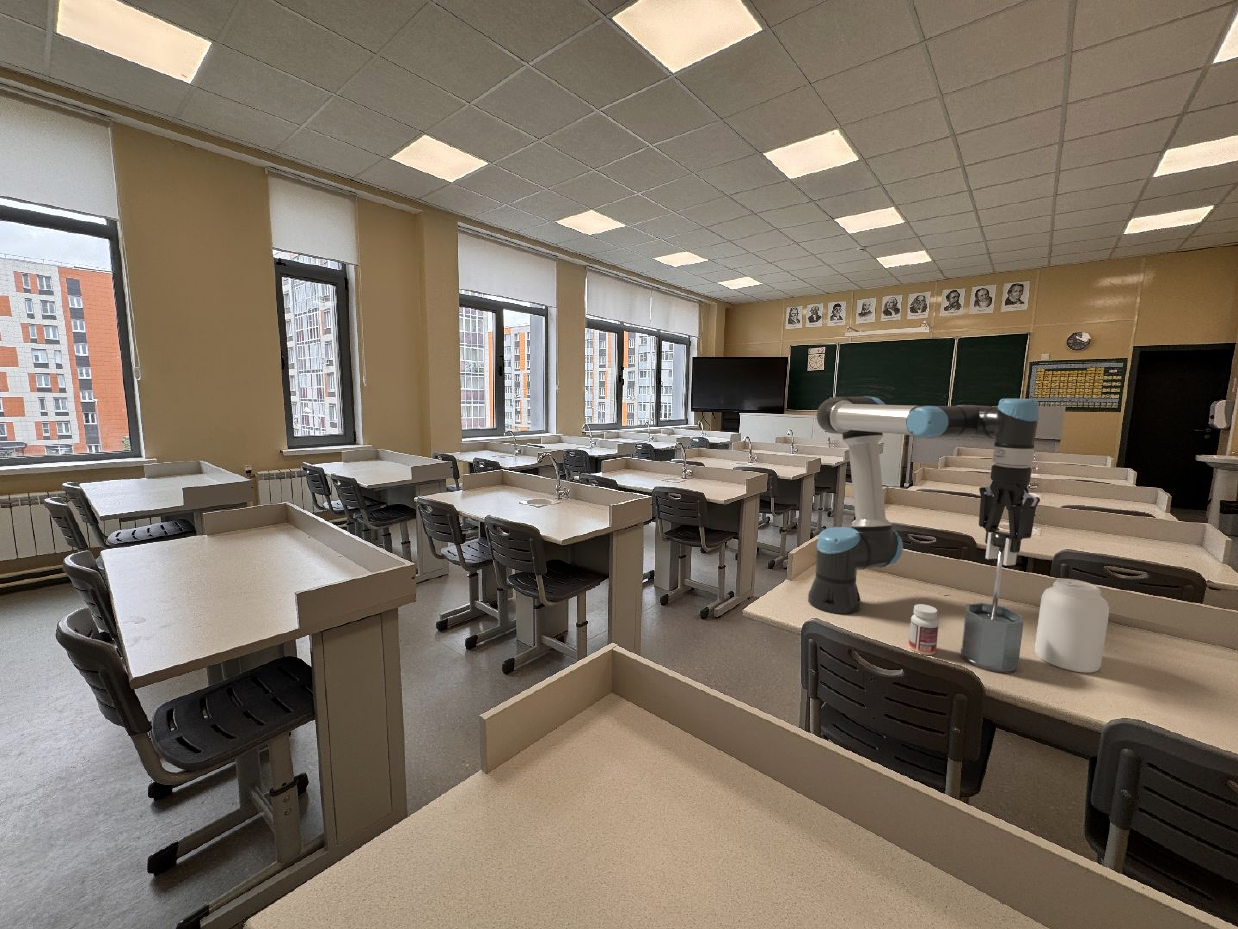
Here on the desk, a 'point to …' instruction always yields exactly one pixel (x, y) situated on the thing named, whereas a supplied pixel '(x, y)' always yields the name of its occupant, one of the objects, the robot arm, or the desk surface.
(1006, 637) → the grey octagonal container
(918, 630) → the pill bottle
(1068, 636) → the can
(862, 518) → the robot arm
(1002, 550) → the plunger
